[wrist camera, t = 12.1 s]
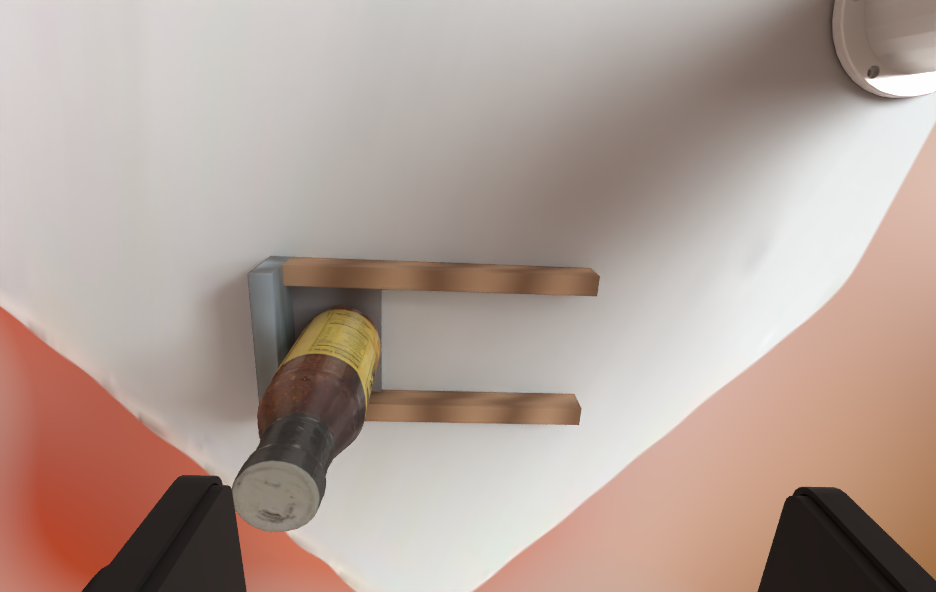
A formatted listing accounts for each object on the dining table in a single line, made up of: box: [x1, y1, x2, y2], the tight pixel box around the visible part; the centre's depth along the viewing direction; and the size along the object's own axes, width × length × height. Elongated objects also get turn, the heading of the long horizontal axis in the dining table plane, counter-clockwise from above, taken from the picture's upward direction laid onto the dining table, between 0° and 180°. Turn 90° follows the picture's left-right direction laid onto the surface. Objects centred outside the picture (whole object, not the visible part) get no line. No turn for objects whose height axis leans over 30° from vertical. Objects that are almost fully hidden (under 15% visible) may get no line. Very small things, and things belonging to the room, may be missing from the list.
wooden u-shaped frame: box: [248, 256, 600, 425], centre depth 40 cm, size 26×13×5 cm, turn 87°
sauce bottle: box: [232, 306, 381, 532], centre depth 33 cm, size 7×6×20 cm
